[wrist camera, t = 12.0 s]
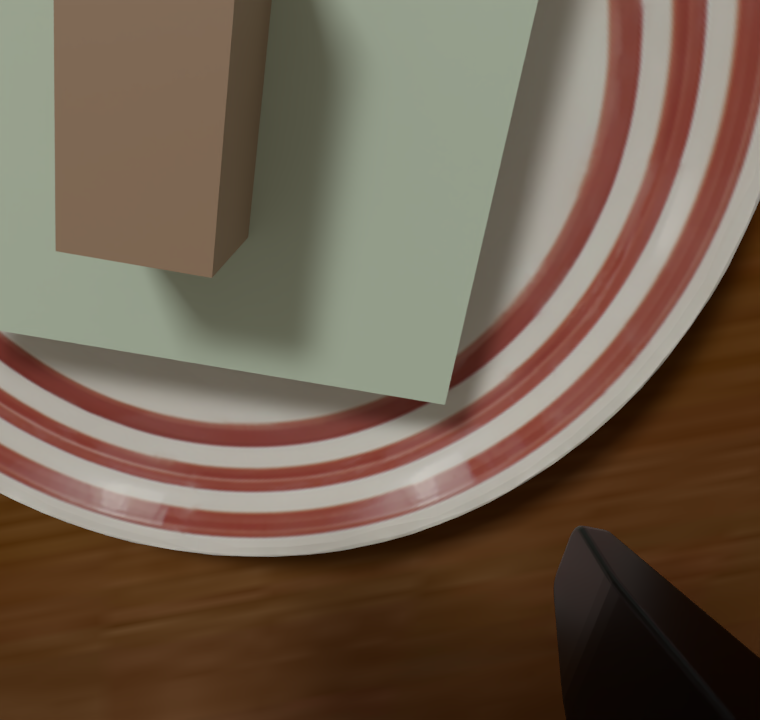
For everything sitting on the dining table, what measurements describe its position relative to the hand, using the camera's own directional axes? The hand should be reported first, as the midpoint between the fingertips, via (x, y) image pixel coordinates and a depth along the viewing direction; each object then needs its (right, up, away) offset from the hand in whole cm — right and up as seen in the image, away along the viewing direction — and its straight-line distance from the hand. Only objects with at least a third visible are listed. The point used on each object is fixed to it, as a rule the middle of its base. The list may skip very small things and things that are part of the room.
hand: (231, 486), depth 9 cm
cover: (-2, +8, +7) cm, 11 cm away
